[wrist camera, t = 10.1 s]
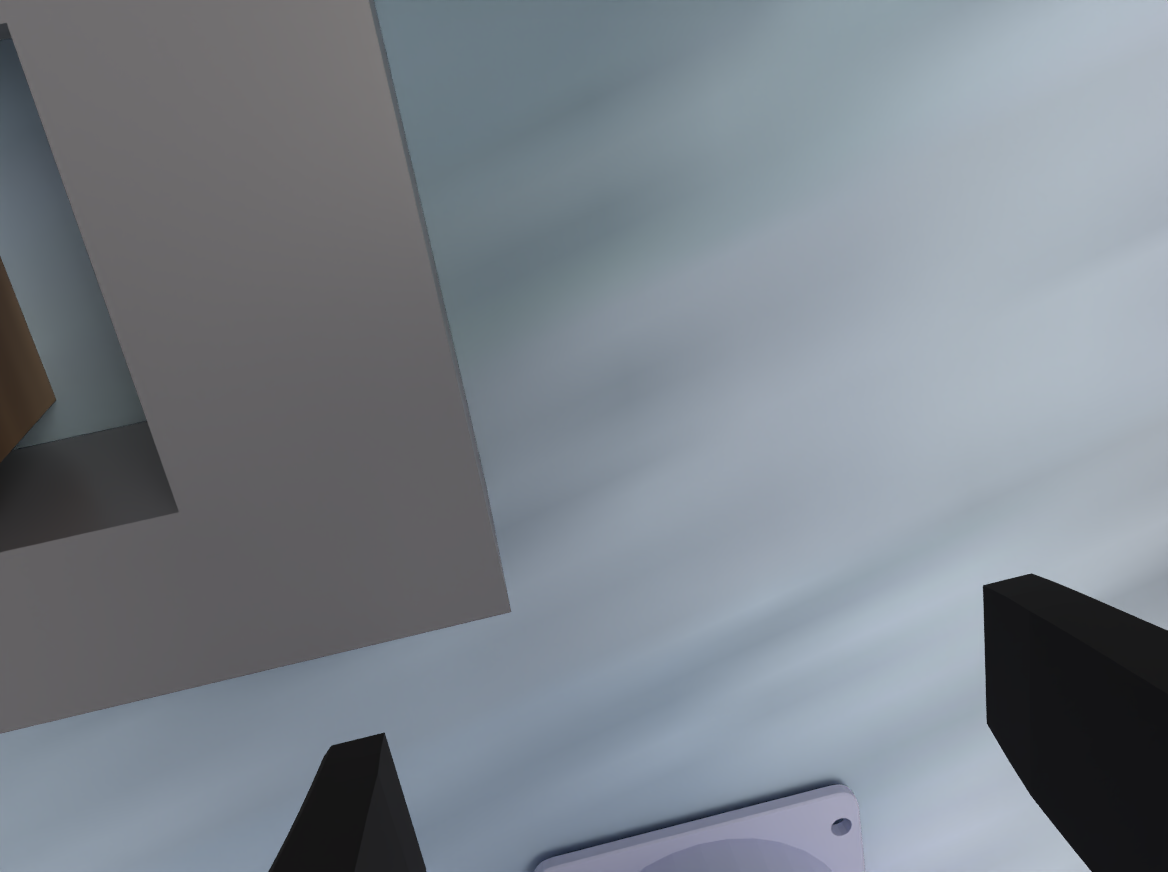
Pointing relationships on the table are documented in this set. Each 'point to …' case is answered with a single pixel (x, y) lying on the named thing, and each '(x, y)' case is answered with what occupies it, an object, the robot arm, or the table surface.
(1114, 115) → the table surface
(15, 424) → the walnut block
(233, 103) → the well block
